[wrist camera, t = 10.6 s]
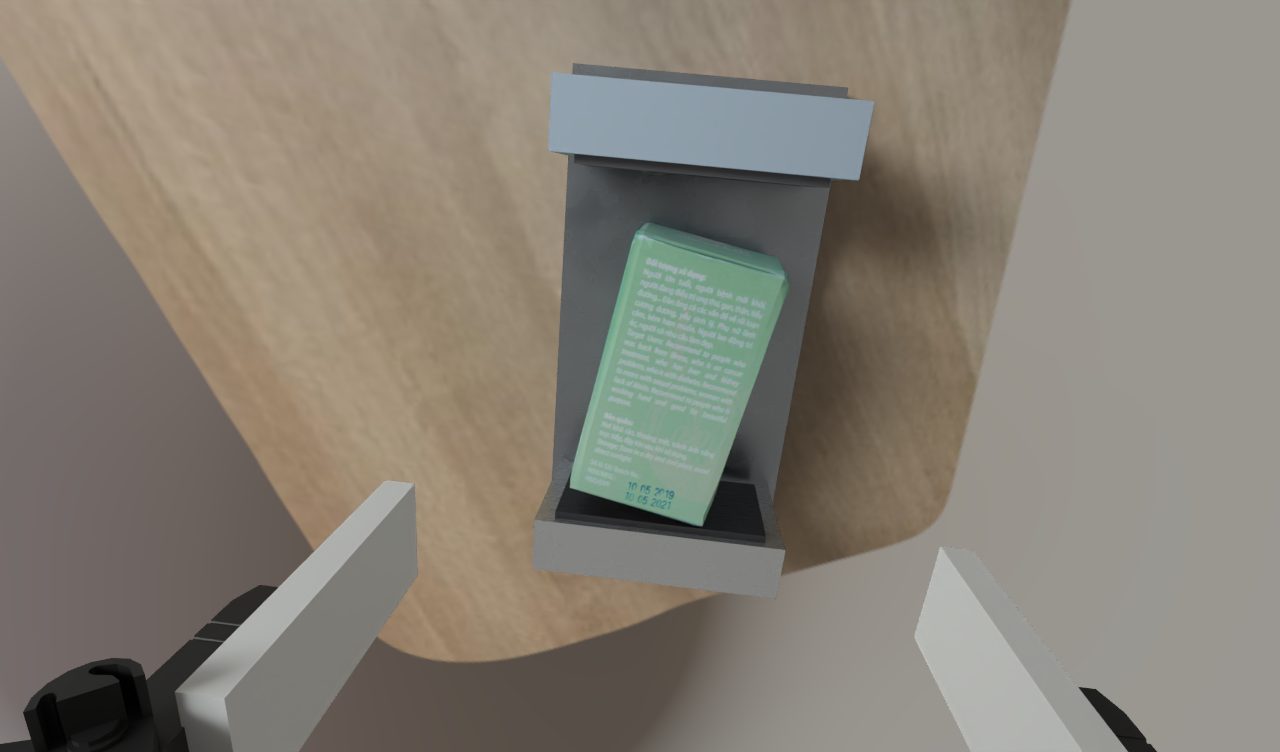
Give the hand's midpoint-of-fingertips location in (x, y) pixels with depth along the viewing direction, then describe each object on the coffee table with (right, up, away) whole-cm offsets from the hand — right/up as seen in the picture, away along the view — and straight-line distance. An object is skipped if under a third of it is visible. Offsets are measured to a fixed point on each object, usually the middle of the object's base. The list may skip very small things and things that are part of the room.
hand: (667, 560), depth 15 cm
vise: (+2, +8, +21) cm, 22 cm away
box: (+1, +6, +20) cm, 21 cm away
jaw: (+3, +17, +16) cm, 23 cm away
